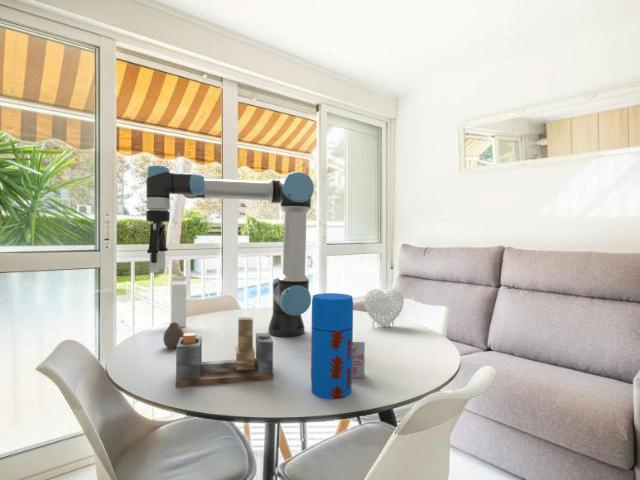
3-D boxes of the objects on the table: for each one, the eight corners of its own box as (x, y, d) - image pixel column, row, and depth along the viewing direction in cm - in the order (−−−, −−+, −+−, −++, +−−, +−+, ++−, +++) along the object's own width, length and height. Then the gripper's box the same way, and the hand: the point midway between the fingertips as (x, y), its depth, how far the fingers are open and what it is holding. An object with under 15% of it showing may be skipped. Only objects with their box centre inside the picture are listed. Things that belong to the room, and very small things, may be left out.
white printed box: (341, 373, 114) (341, 339, 114) (363, 374, 113) (364, 340, 113) (340, 377, 110) (341, 343, 110) (364, 378, 110) (364, 344, 110)
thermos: (309, 383, 106) (310, 293, 106) (348, 382, 107) (349, 293, 106) (312, 400, 95) (313, 299, 95) (354, 399, 96) (356, 299, 96)
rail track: (268, 365, 120) (268, 330, 120) (273, 379, 108) (273, 340, 108) (180, 371, 113) (180, 334, 113) (175, 387, 102) (175, 345, 102)
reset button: (195, 341, 110) (196, 332, 110) (195, 344, 107) (195, 335, 107) (184, 341, 109) (184, 333, 109) (183, 344, 106) (183, 336, 106)
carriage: (252, 362, 116) (253, 315, 116) (254, 369, 109) (255, 320, 109) (236, 363, 115) (236, 316, 115) (236, 371, 108) (237, 321, 108)
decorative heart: (398, 323, 178) (399, 287, 178) (406, 329, 168) (407, 290, 167) (361, 324, 176) (361, 287, 176) (366, 330, 165) (367, 290, 165)
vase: (177, 350, 133) (177, 325, 133) (159, 349, 135) (159, 324, 135) (187, 345, 140) (187, 321, 140) (170, 344, 142) (170, 320, 141)
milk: (186, 327, 167) (186, 276, 167) (171, 328, 165) (171, 277, 165) (185, 324, 173) (185, 275, 173) (170, 325, 171) (171, 275, 170)
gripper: (153, 212, 146) (153, 267, 146) (138, 207, 121) (138, 274, 122) (174, 212, 147) (174, 267, 148) (163, 208, 123) (163, 274, 123)
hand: (157, 270), depth 135 cm, fingers open, 13 cm apart
